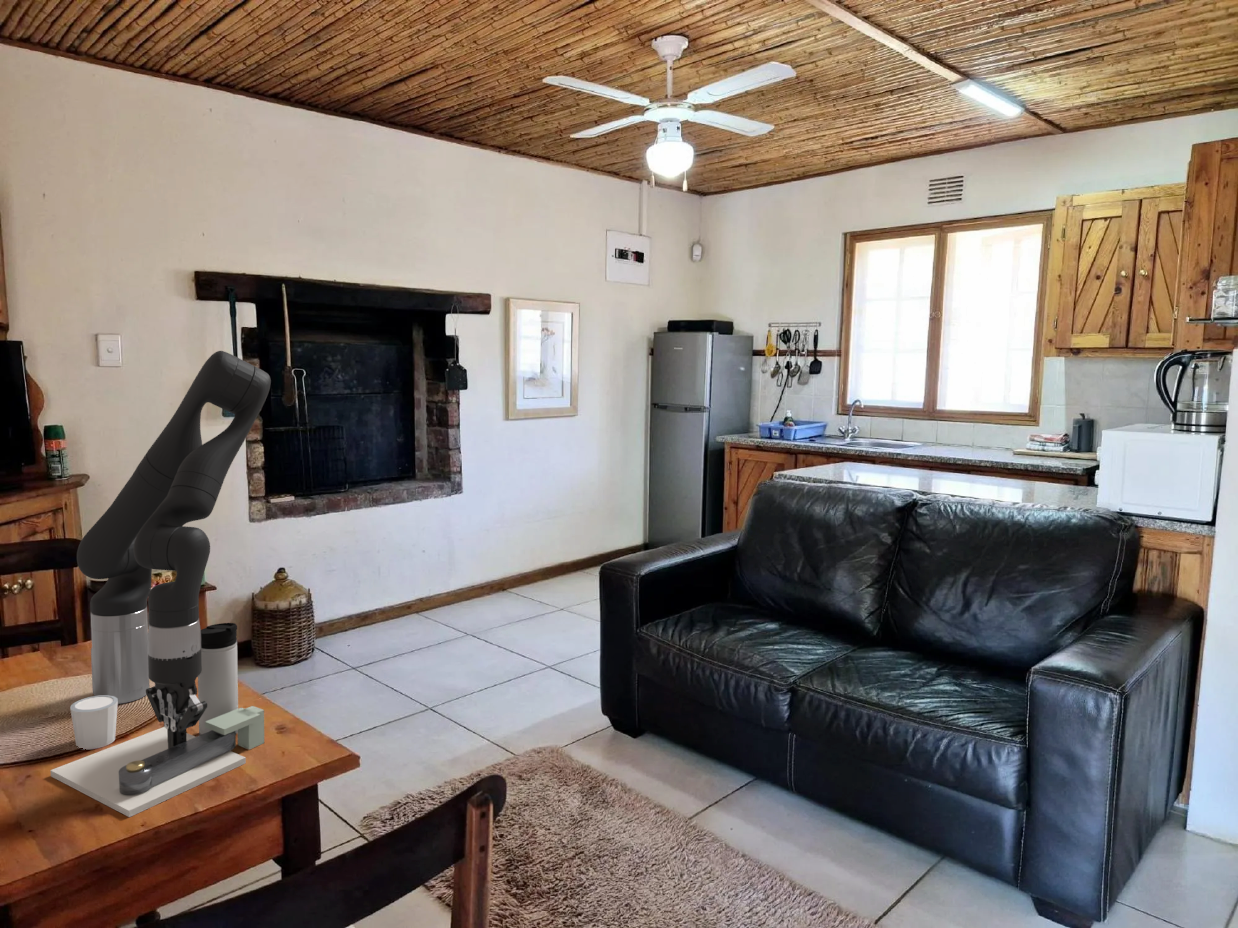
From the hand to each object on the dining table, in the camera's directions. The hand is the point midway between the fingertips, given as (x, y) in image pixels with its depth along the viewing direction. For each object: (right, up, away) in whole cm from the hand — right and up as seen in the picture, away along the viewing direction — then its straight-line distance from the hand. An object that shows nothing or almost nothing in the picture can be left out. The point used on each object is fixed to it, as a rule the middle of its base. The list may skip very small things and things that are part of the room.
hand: (177, 749), depth 132 cm
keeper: (+7, -2, +6) cm, 9 cm away
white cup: (-18, -1, +6) cm, 19 cm away
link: (+2, -2, -3) cm, 4 cm away
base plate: (-3, -3, -2) cm, 5 cm away
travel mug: (+1, -1, +11) cm, 11 cm away
